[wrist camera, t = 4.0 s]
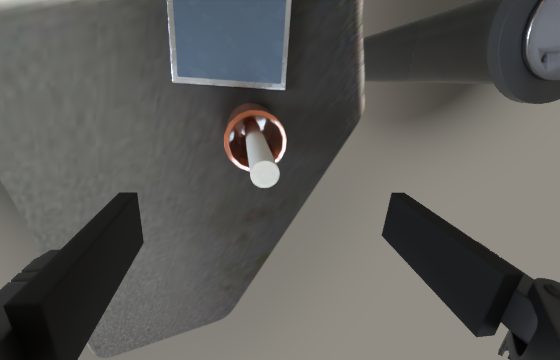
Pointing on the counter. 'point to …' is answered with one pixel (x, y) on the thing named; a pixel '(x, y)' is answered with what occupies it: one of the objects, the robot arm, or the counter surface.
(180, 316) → the counter surface
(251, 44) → the tablet
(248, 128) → the stylus
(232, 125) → the pen pot
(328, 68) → the counter surface
